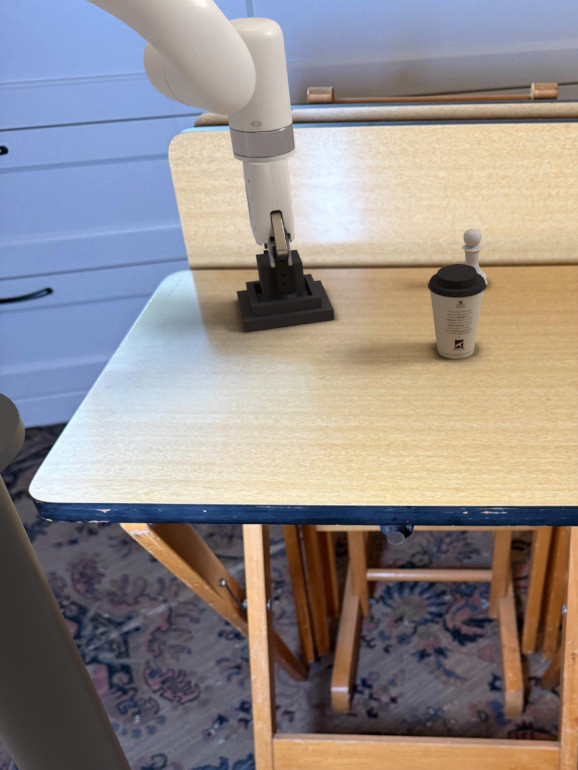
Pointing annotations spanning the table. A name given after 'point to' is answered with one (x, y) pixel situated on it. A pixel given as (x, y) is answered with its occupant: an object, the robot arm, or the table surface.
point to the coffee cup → (456, 308)
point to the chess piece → (473, 249)
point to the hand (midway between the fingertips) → (281, 284)
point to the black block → (264, 274)
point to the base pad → (284, 306)
